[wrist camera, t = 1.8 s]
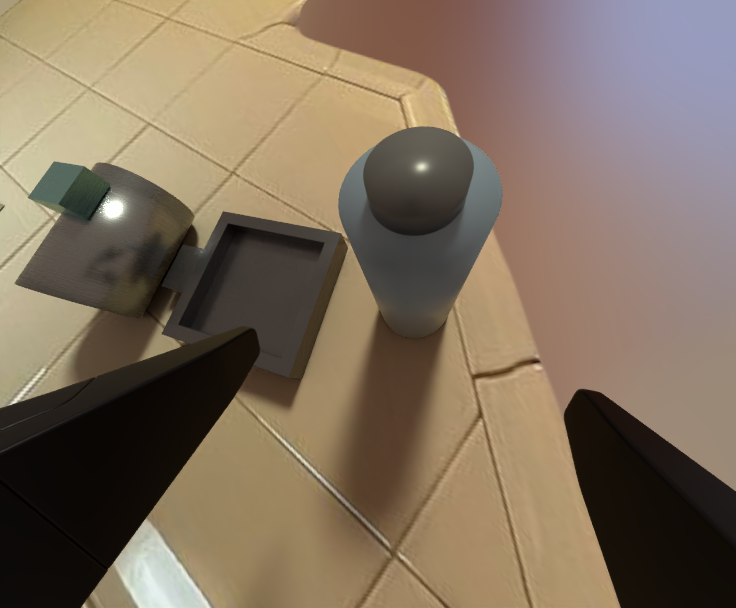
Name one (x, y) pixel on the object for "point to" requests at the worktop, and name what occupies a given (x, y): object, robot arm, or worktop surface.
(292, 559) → the worktop surface
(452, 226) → the blue-grey capped bottle
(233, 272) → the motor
